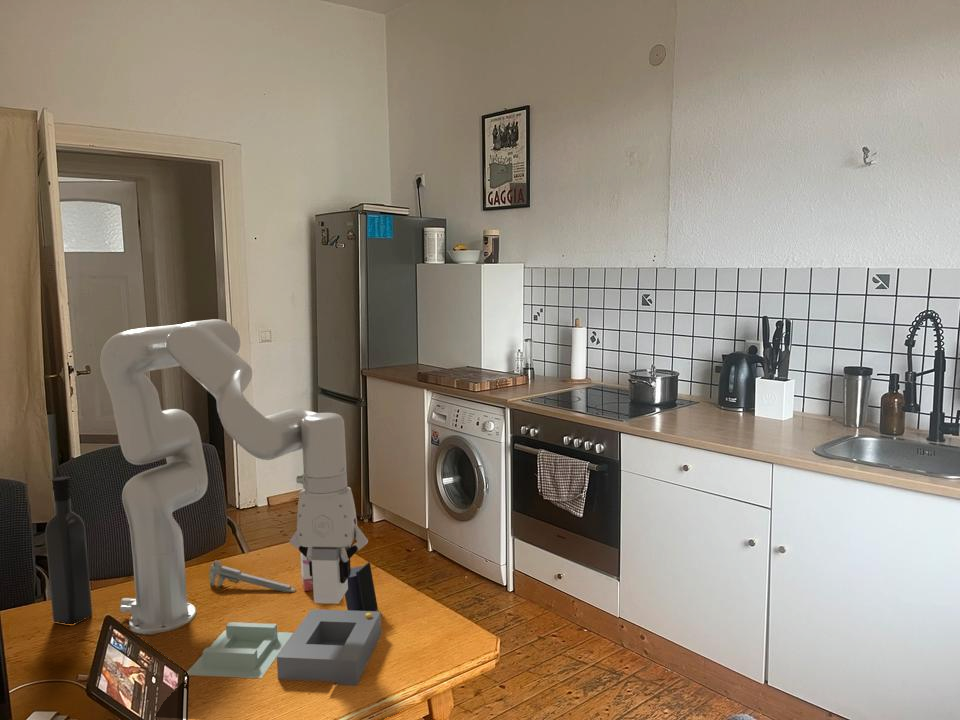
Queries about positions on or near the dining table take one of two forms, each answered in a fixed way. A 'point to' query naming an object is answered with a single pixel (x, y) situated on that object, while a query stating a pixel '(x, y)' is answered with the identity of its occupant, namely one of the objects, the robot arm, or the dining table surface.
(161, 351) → the robot arm
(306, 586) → the ink cartridge box
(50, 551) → the wine bottle
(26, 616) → the dining table surface
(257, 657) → the pale green cradle tray
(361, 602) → the speaker
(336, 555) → the plug
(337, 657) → the block
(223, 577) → the caliper
